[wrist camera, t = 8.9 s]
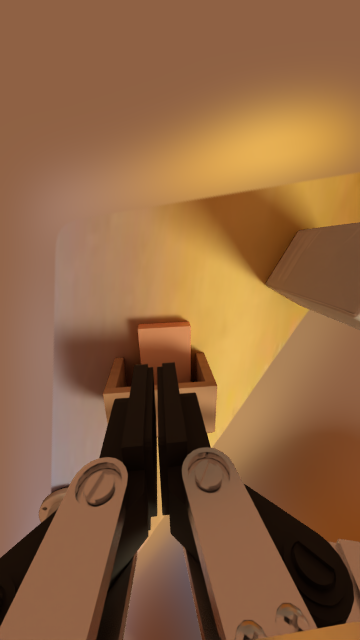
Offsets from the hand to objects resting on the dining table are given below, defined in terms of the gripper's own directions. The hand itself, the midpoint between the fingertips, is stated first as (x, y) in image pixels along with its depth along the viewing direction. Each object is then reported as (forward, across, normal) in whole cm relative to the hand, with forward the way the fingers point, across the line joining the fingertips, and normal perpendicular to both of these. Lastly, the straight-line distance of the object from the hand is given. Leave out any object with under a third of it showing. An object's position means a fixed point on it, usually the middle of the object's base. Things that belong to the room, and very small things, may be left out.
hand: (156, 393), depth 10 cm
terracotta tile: (+22, -1, +11) cm, 25 cm away
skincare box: (+22, -19, -2) cm, 29 cm away
